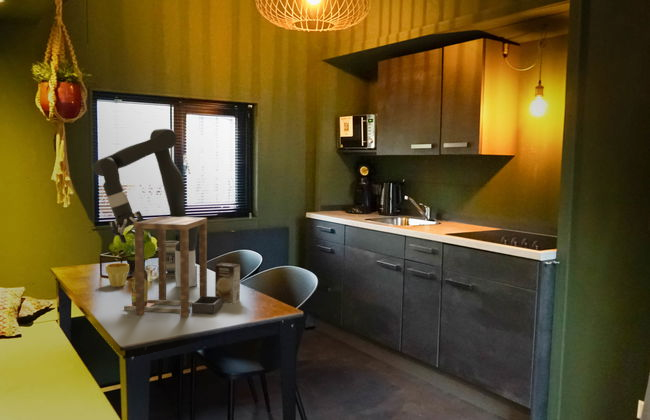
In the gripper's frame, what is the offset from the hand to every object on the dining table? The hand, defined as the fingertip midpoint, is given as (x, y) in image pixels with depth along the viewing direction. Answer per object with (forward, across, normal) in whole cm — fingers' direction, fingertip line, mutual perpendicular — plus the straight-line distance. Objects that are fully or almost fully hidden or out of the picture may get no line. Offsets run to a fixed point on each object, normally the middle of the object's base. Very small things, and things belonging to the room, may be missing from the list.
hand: (133, 239), depth 236 cm
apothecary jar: (+30, +29, +33) cm, 53 cm away
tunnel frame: (+28, -7, -16) cm, 33 cm away
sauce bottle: (+25, -13, -8) cm, 29 cm away
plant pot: (+22, +1, +33) cm, 40 cm away
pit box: (+34, +2, -31) cm, 46 cm away
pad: (+25, -13, -8) cm, 29 cm away
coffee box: (+38, +16, -26) cm, 48 cm away
